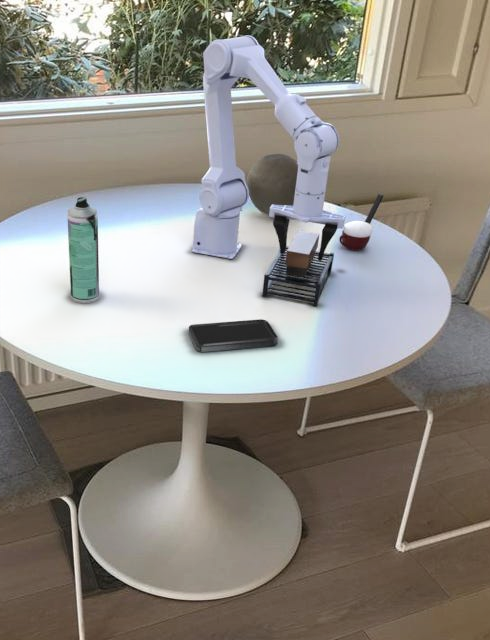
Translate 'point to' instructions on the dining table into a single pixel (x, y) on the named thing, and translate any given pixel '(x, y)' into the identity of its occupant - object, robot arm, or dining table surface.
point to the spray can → (83, 252)
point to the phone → (232, 335)
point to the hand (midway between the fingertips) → (301, 255)
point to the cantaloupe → (272, 181)
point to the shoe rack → (317, 284)
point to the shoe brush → (301, 253)
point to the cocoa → (359, 230)
